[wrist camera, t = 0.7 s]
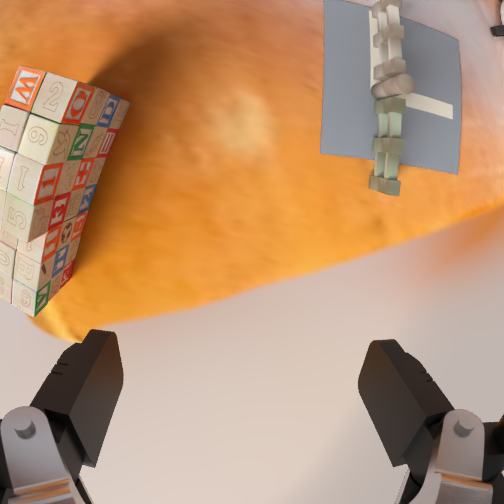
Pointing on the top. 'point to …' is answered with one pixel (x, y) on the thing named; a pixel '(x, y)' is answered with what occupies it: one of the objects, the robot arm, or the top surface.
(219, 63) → the top surface
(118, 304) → the top surface
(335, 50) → the card
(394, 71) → the fence base
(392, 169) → the hinged panel
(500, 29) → the coffee press
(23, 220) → the stack of blocks
